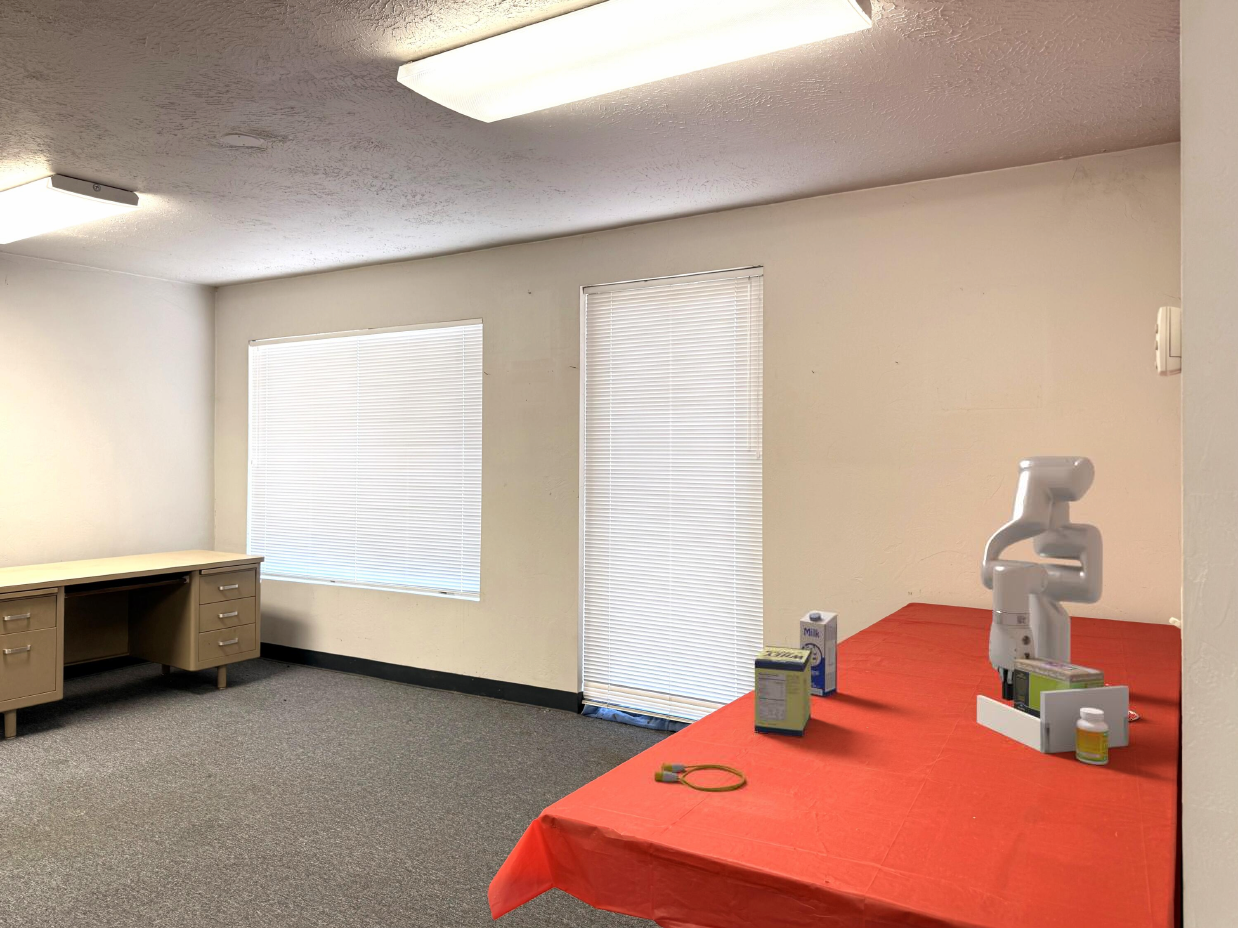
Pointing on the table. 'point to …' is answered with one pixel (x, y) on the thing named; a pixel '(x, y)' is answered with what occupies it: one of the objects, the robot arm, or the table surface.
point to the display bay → (1059, 717)
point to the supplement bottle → (1092, 737)
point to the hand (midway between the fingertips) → (1010, 699)
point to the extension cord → (671, 769)
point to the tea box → (1049, 680)
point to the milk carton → (821, 650)
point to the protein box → (783, 691)
